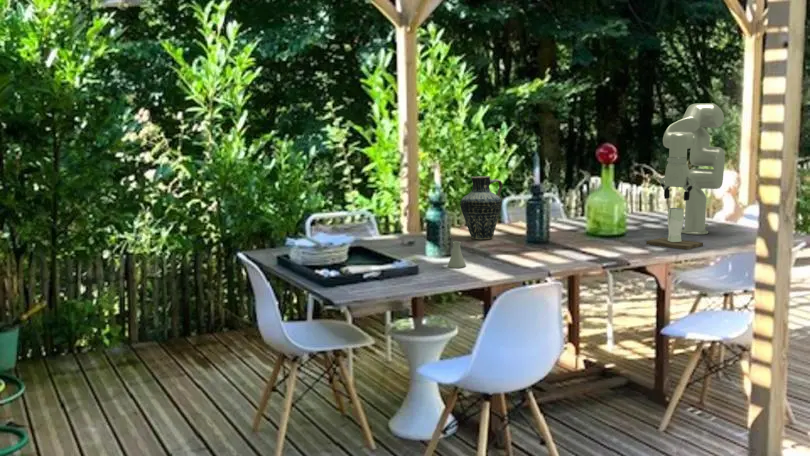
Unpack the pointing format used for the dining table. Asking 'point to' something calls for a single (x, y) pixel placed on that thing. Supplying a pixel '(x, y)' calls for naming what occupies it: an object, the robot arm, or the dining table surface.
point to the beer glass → (675, 224)
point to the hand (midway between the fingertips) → (676, 199)
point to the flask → (456, 257)
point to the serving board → (681, 245)
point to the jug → (482, 208)
